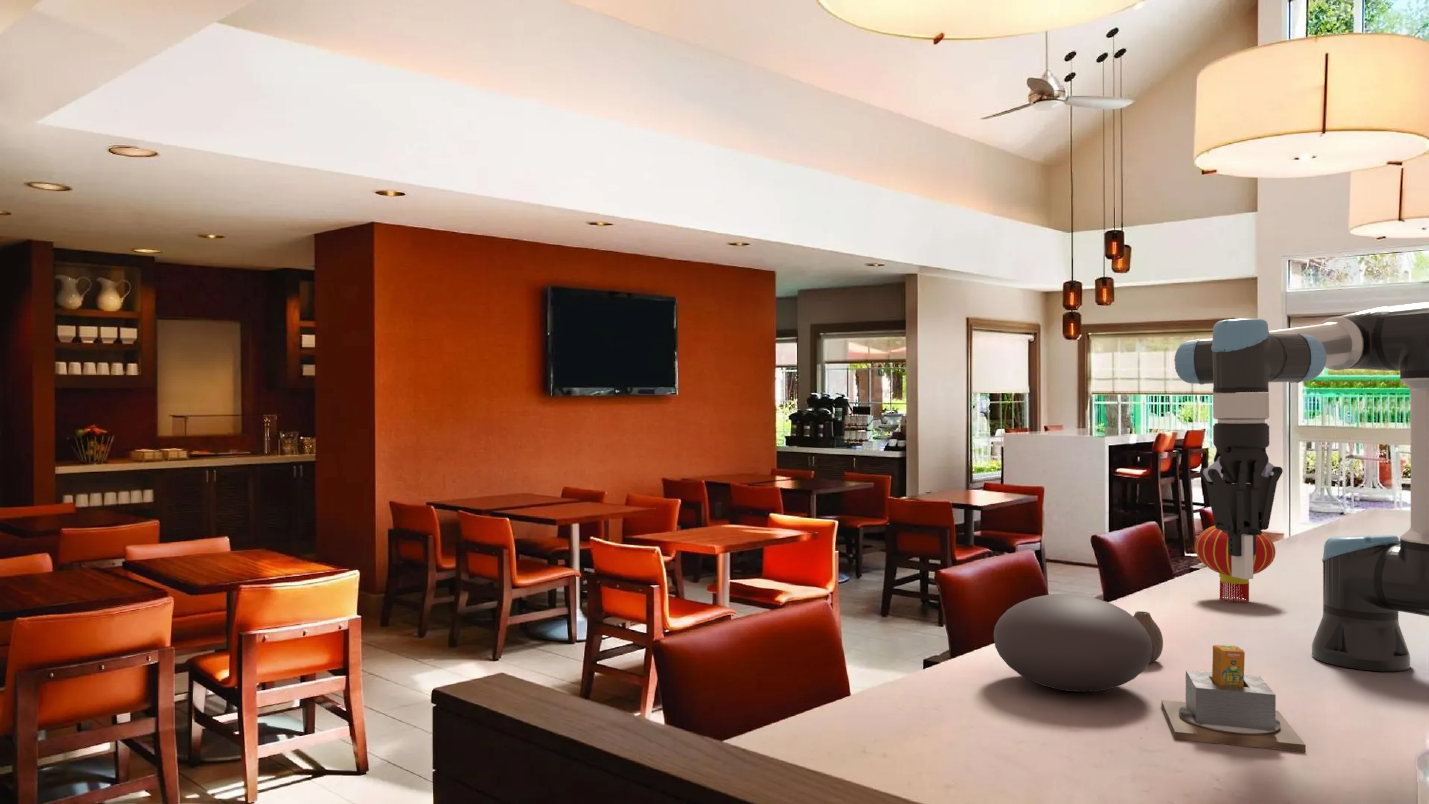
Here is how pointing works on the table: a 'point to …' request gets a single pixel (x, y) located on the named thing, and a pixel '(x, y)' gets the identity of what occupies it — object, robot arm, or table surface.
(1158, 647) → the vase
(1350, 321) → the robot arm
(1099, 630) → the smooth stone
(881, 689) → the table surface
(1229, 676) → the supplement box
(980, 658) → the table surface
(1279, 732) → the walnut board
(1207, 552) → the lantern
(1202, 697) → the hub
